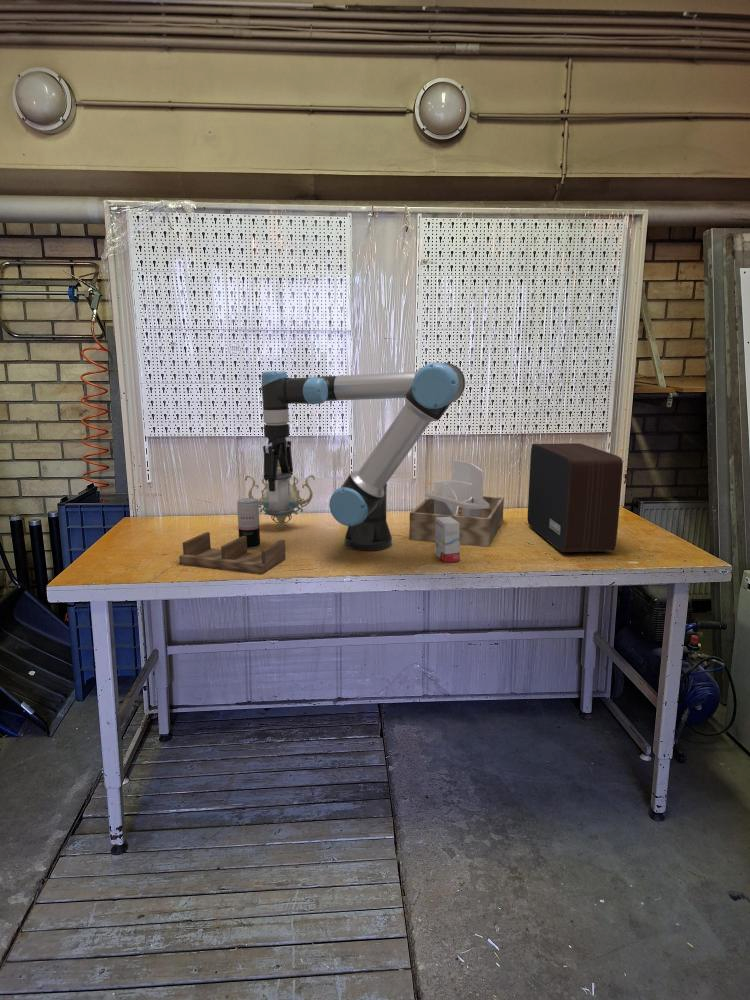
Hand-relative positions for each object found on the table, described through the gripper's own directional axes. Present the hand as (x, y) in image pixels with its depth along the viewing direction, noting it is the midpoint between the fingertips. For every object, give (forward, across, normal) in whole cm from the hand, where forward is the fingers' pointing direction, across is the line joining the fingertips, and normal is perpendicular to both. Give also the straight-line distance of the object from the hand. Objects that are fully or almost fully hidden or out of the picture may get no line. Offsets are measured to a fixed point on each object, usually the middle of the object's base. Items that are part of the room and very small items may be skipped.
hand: (280, 498), depth 191 cm
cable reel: (+4, 0, 0) cm, 4 cm away
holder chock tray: (+17, -40, +47) cm, 64 cm away
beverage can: (+16, 0, -12) cm, 20 cm away
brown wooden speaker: (+18, -40, +84) cm, 95 cm away
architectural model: (+18, -40, +48) cm, 65 cm away
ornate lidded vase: (+16, -22, -12) cm, 30 cm away
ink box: (+17, -8, +50) cm, 54 cm away
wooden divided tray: (+16, +16, -8) cm, 24 cm away
